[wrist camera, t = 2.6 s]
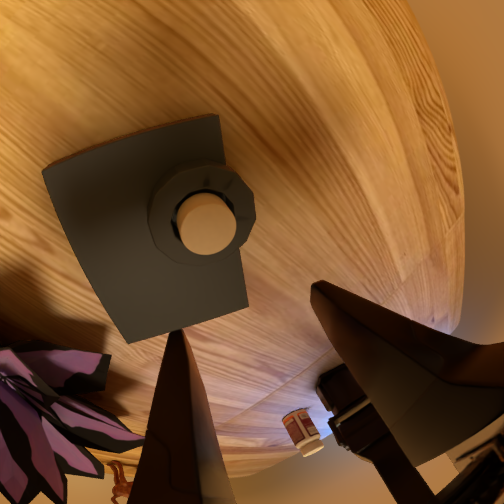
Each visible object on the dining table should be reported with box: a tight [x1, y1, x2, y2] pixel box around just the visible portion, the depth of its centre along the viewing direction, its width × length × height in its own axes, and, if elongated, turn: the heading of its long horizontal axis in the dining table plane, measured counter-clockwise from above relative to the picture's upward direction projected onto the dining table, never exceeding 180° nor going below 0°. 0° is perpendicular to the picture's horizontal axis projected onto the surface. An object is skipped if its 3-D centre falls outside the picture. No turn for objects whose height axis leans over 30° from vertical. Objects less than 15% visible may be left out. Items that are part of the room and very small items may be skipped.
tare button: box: [177, 193, 236, 255], centre depth 14 cm, size 3×3×2 cm
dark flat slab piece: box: [42, 114, 256, 344], centre depth 16 cm, size 11×14×3 cm
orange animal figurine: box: [107, 461, 133, 504], centre depth 33 cm, size 18×7×14 cm, turn 46°
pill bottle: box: [283, 409, 324, 457], centre depth 40 cm, size 5×5×8 cm
